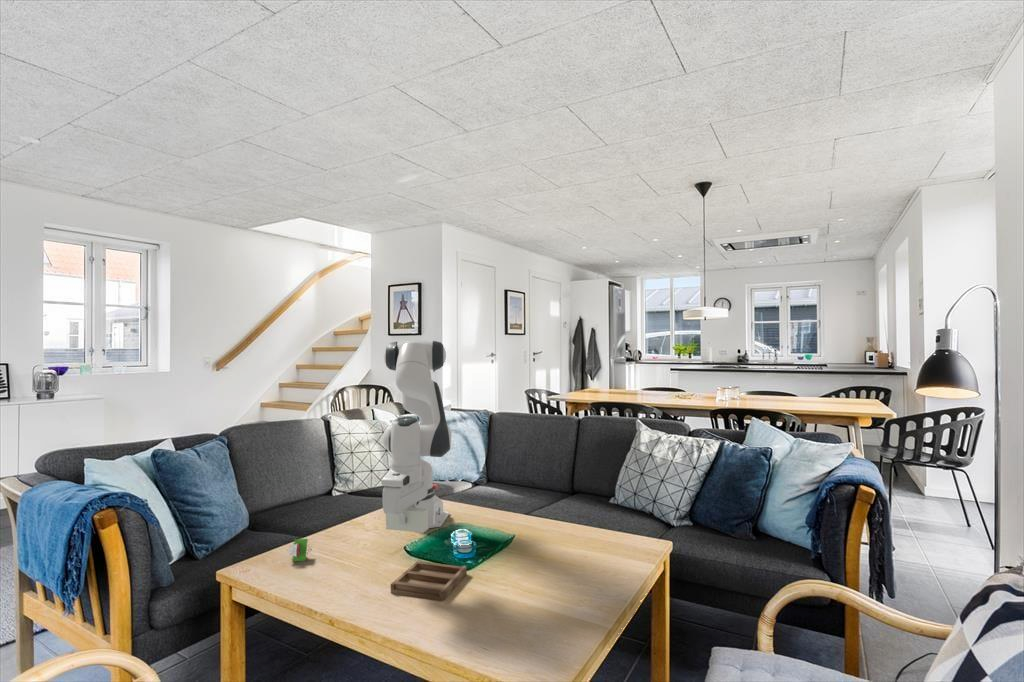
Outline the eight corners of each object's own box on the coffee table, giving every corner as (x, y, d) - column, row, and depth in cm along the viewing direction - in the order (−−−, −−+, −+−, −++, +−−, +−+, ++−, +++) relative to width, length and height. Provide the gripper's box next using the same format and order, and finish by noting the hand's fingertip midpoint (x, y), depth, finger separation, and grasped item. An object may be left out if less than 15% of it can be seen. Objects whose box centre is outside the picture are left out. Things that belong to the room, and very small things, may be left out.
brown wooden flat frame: (418, 567, 169) (418, 559, 169) (466, 574, 164) (466, 566, 164) (390, 593, 153) (390, 584, 153) (442, 600, 148) (442, 591, 148)
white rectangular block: (391, 525, 162) (391, 505, 162) (427, 529, 158) (427, 508, 158) (386, 529, 159) (385, 508, 159) (423, 532, 155) (422, 511, 155)
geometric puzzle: (294, 547, 181) (289, 533, 176) (315, 546, 182) (310, 532, 177) (289, 567, 176) (283, 553, 171) (310, 566, 176) (306, 552, 171)
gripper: (414, 465, 170) (414, 509, 169) (378, 481, 150) (378, 531, 150) (432, 466, 168) (432, 511, 168) (398, 482, 148) (399, 533, 148)
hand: (407, 521), depth 159 cm, fingers closed on white rectangular block, 3 cm apart
